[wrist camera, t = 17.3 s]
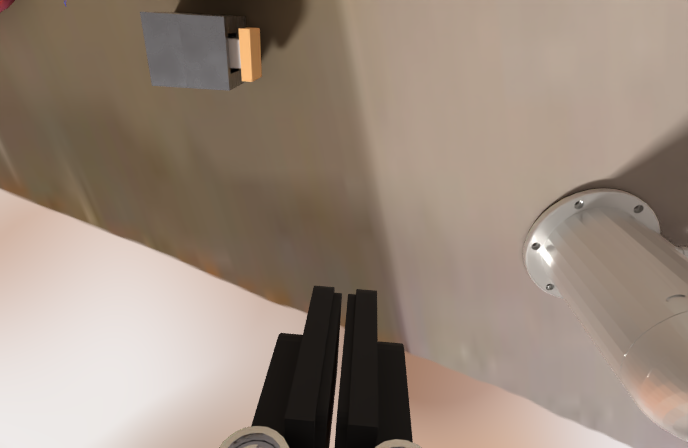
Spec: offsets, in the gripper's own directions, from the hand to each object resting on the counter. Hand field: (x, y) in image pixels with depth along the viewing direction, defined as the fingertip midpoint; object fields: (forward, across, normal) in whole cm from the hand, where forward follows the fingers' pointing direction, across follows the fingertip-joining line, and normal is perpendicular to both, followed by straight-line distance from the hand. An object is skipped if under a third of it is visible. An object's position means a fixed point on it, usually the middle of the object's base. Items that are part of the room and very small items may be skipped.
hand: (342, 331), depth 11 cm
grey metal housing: (+28, +13, -5) cm, 32 cm away
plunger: (+26, +11, -5) cm, 29 cm away
